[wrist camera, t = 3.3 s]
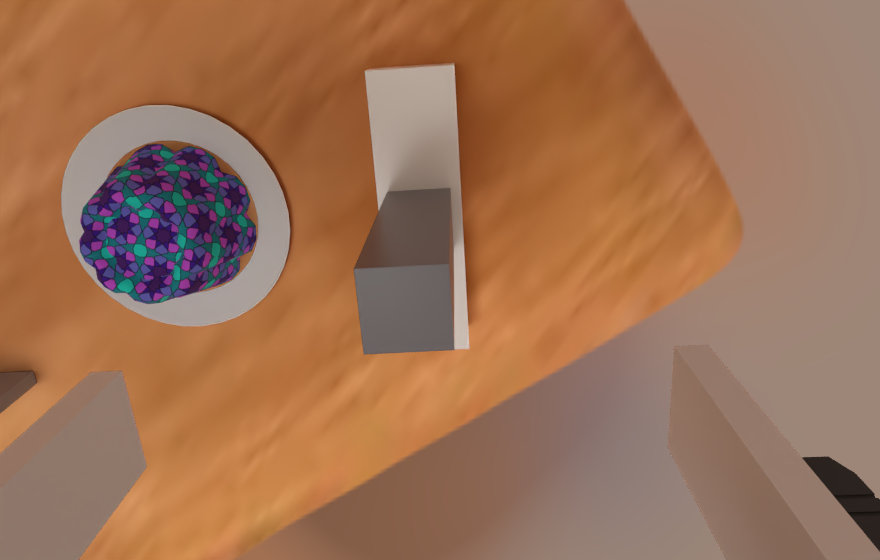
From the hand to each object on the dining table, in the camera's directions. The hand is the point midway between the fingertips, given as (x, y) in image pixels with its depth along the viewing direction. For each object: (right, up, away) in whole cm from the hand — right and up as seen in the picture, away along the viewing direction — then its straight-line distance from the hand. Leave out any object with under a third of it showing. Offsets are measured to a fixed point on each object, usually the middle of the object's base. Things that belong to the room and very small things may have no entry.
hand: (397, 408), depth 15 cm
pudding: (-13, +6, +19) cm, 24 cm away
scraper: (0, +7, +18) cm, 20 cm away
